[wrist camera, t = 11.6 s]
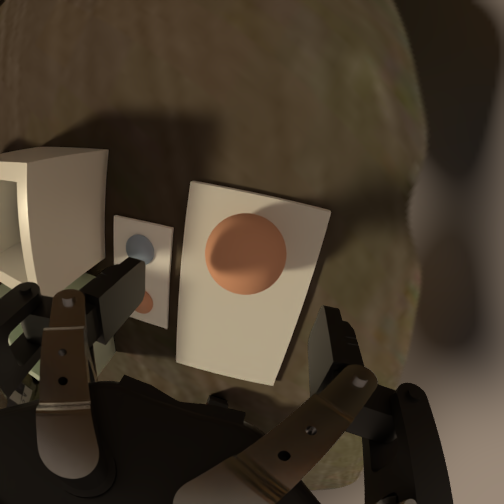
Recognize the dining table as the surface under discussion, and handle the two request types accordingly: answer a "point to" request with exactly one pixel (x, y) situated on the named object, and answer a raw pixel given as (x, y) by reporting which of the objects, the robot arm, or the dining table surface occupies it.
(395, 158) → the dining table surface
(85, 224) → the cream cup
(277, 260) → the terracotta ball
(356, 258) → the dining table surface
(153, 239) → the card
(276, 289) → the felt mat
